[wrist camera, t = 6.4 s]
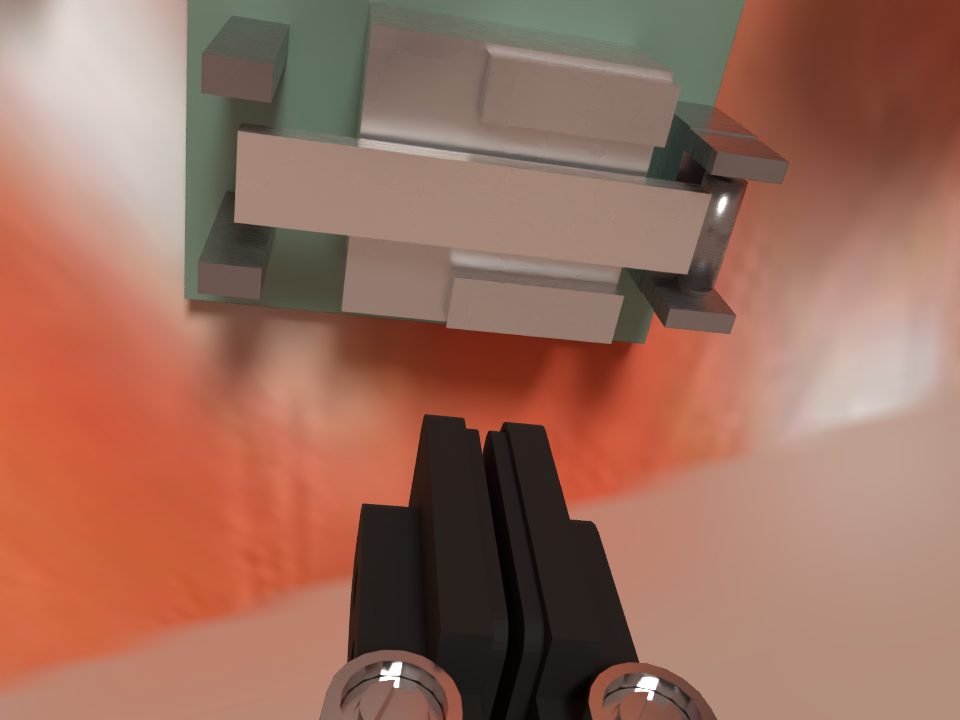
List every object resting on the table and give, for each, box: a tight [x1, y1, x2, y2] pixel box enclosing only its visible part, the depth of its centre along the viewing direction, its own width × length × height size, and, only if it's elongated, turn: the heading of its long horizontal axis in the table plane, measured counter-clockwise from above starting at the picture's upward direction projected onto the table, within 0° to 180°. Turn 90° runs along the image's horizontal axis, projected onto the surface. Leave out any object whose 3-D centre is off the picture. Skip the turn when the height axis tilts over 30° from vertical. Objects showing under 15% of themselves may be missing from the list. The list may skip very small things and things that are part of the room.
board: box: [185, 0, 745, 344], centre depth 28 cm, size 16×12×1 cm
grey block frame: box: [197, 2, 789, 344], centre depth 25 cm, size 15×8×6 cm, turn 81°
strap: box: [234, 123, 748, 292], centre depth 24 cm, size 14×3×1 cm, turn 81°
